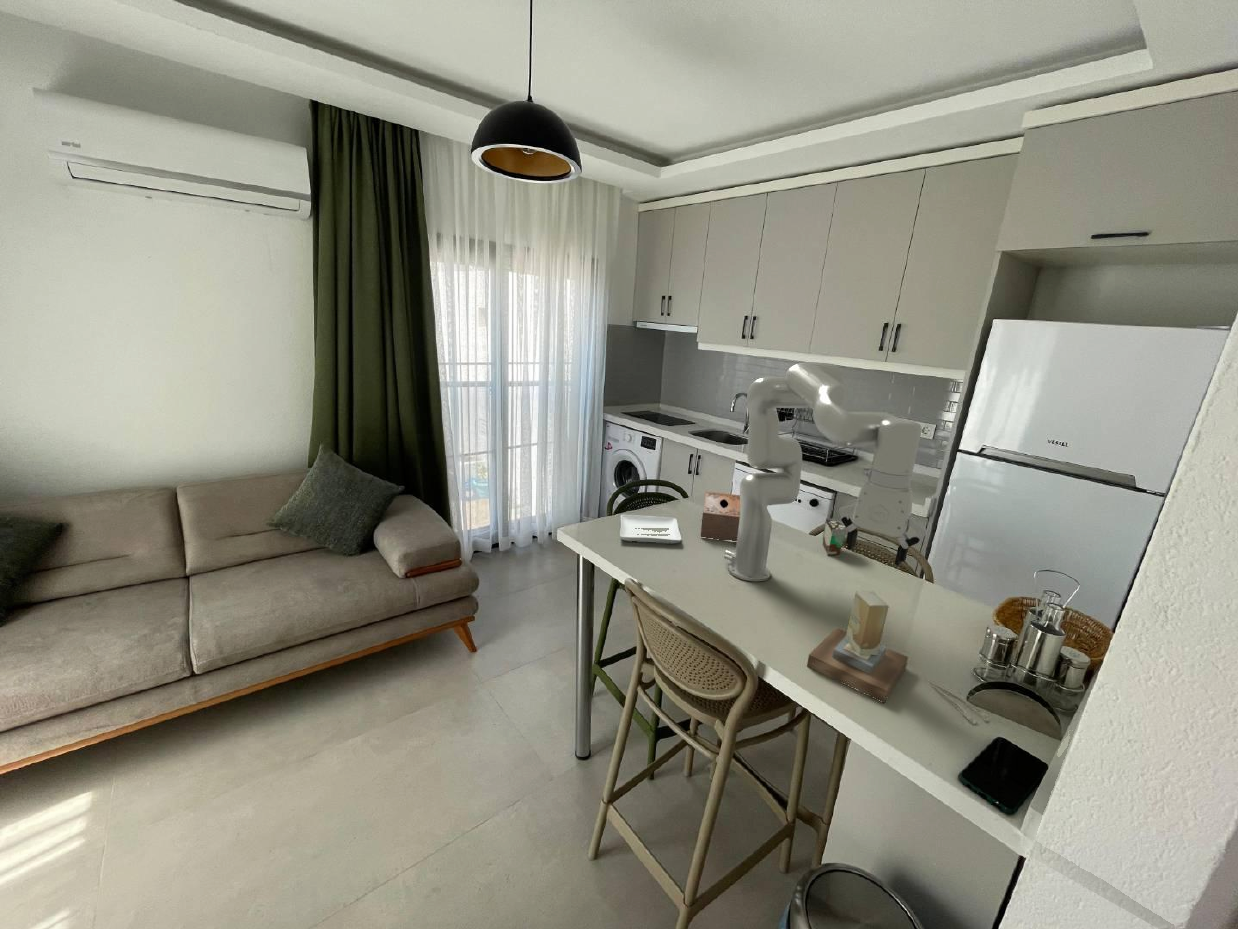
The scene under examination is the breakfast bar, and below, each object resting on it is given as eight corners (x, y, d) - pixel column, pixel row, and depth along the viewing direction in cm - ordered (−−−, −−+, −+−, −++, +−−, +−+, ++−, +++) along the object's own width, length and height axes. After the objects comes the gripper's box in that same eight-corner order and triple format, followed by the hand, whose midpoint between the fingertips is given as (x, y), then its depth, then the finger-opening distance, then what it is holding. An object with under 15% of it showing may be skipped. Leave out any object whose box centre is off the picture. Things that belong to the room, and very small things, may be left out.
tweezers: (990, 723, 99) (991, 714, 99) (971, 728, 98) (973, 718, 97) (915, 672, 115) (917, 664, 115) (899, 675, 114) (900, 667, 114)
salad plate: (681, 548, 172) (682, 539, 171) (619, 545, 172) (619, 535, 171) (675, 525, 193) (676, 517, 192) (619, 522, 192) (620, 514, 192)
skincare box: (844, 638, 115) (853, 589, 112) (862, 638, 115) (872, 590, 112) (859, 656, 108) (870, 605, 105) (879, 656, 109) (889, 605, 106)
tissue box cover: (703, 514, 205) (706, 491, 203) (739, 519, 203) (742, 495, 200) (700, 538, 181) (702, 512, 178) (741, 544, 178) (744, 517, 176)
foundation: (806, 666, 113) (810, 646, 111) (833, 637, 124) (837, 619, 123) (884, 703, 102) (888, 681, 101) (905, 668, 114) (910, 648, 112)
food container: (847, 560, 169) (852, 532, 167) (828, 557, 170) (833, 529, 168) (839, 545, 181) (844, 519, 179) (821, 543, 182) (826, 517, 180)
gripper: (840, 472, 107) (826, 547, 111) (932, 493, 96) (913, 575, 100) (852, 466, 112) (839, 538, 117) (941, 486, 101) (923, 564, 106)
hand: (873, 555), depth 109 cm, fingers open, 9 cm apart
